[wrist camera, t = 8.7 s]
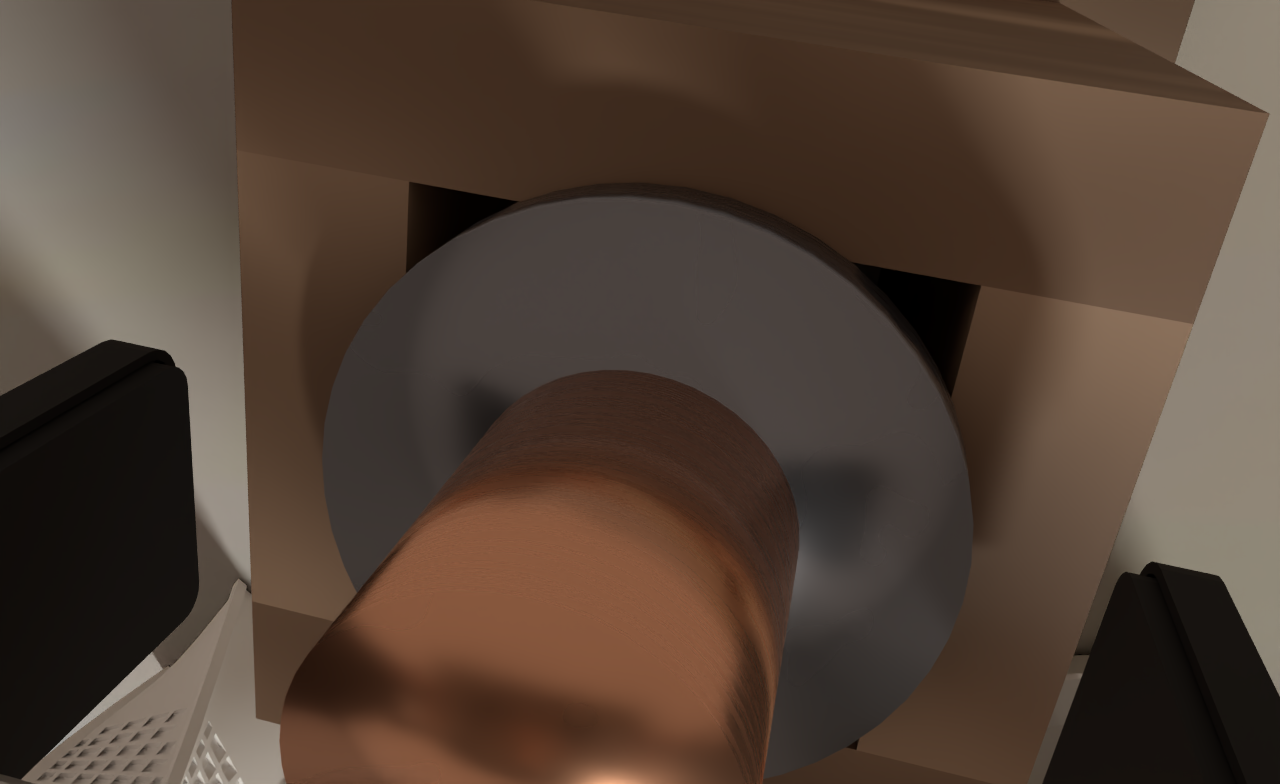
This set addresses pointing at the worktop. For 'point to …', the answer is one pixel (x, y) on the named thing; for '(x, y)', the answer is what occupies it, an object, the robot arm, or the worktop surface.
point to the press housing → (804, 196)
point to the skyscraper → (181, 720)
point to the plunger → (629, 505)
